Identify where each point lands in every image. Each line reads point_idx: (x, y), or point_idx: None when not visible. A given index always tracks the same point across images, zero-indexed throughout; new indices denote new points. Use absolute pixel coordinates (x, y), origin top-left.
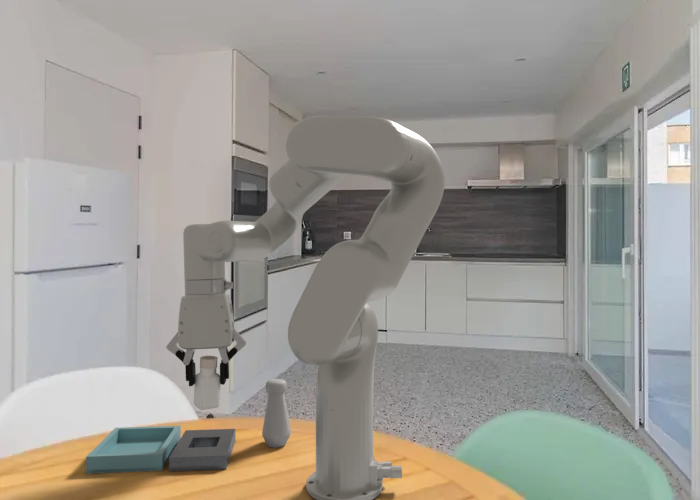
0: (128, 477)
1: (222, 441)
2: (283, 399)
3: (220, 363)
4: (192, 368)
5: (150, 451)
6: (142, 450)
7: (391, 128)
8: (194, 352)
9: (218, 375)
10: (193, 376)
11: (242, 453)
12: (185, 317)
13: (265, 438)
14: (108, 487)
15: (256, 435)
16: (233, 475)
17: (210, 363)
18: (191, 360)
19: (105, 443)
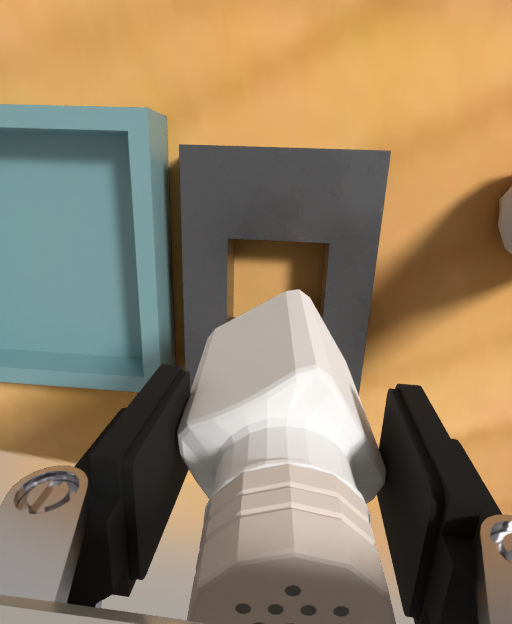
0: (102, 393)
1: (340, 294)
2: None
3: (415, 587)
4: (150, 558)
5: (99, 249)
6: (70, 237)
7: None
8: (62, 571)
9: (369, 480)
10: (173, 475)
11: (402, 281)
12: None
13: (505, 247)
14: (78, 435)
15: (471, 93)
16: (370, 426)
17: None
18: (100, 584)
19: None
